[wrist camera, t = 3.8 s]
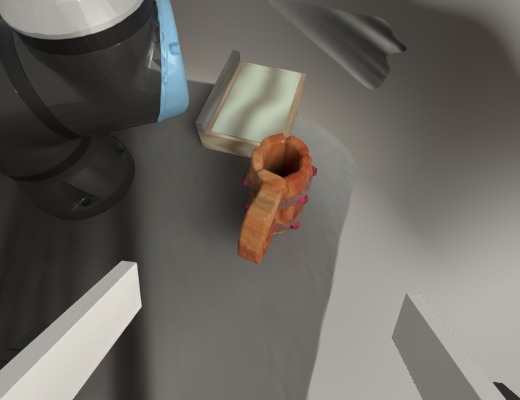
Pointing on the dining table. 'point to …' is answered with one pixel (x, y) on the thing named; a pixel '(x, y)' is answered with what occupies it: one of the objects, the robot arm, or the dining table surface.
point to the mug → (274, 192)
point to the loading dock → (249, 106)
